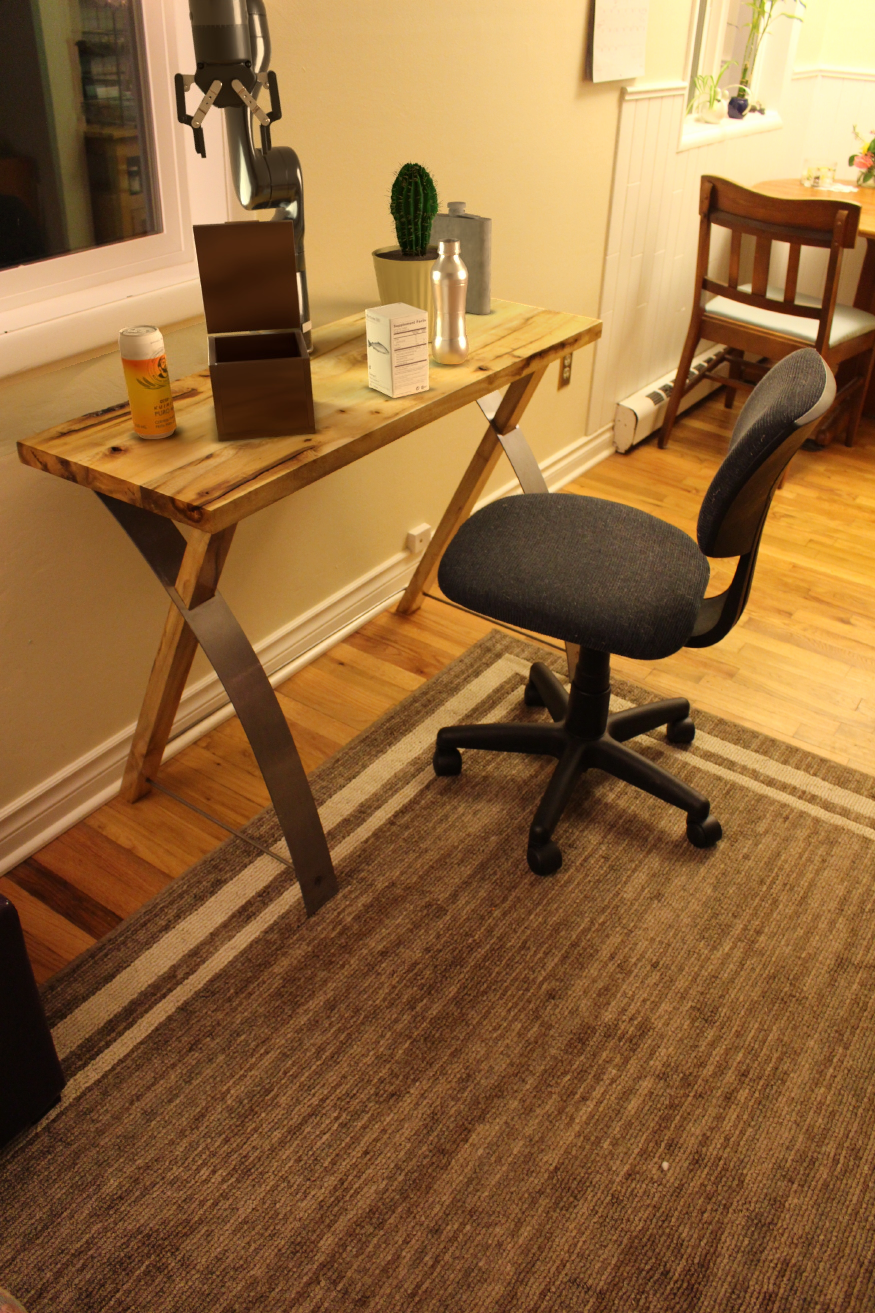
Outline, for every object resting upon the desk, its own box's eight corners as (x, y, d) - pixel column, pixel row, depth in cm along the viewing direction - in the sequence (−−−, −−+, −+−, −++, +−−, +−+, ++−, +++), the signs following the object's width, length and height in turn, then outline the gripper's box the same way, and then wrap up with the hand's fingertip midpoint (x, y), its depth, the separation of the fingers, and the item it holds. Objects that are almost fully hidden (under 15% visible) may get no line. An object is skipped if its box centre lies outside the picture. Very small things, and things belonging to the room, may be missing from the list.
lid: (292, 221, 145) (289, 207, 149) (192, 226, 143) (191, 212, 147) (300, 327, 156) (297, 312, 160) (207, 334, 153) (206, 318, 157)
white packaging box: (367, 387, 167) (363, 308, 160) (405, 378, 170) (402, 300, 163) (392, 399, 162) (388, 317, 155) (430, 390, 165) (429, 309, 158)
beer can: (167, 441, 148) (149, 336, 139) (128, 439, 149) (108, 334, 141) (184, 426, 153) (168, 324, 144) (146, 424, 154) (128, 323, 146)
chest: (316, 432, 150) (309, 357, 144) (219, 441, 147) (208, 365, 142) (306, 400, 162) (300, 329, 156) (217, 407, 160) (207, 336, 154)
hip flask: (418, 305, 211) (415, 200, 200) (428, 301, 214) (426, 197, 203) (485, 315, 204) (486, 206, 193) (495, 310, 207) (496, 203, 196)
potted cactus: (358, 334, 193) (348, 159, 177) (419, 319, 202) (415, 150, 185) (412, 351, 183) (407, 167, 167) (474, 334, 192) (474, 158, 176)
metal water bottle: (442, 370, 174) (441, 246, 163) (424, 360, 179) (422, 239, 168) (475, 364, 176) (476, 241, 165) (457, 355, 181) (456, 234, 170)
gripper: (271, 19, 140) (283, 150, 149) (165, 21, 138) (183, 154, 147) (275, 20, 134) (286, 157, 143) (163, 22, 132) (182, 161, 141)
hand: (234, 156), depth 145 cm, fingers open, 8 cm apart
